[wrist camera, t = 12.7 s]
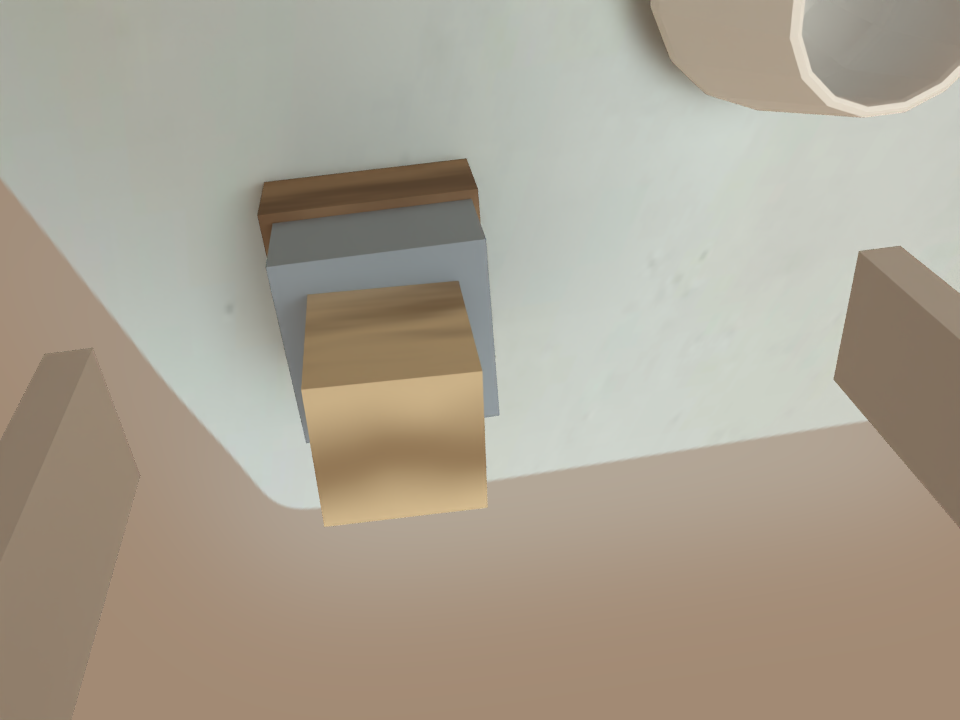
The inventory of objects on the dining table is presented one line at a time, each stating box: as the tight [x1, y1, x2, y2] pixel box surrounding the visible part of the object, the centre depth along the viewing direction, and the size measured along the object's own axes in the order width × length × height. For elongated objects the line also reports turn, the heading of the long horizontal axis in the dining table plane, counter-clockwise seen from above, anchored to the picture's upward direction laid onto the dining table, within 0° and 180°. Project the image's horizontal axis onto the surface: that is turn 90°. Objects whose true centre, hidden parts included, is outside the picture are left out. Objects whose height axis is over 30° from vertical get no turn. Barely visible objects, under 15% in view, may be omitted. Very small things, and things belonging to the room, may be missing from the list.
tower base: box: [257, 159, 481, 256], centre depth 48 cm, size 11×11×5 cm
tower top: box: [266, 199, 499, 443], centre depth 44 cm, size 10×10×5 cm
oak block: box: [301, 281, 487, 527], centre depth 39 cm, size 7×7×8 cm
